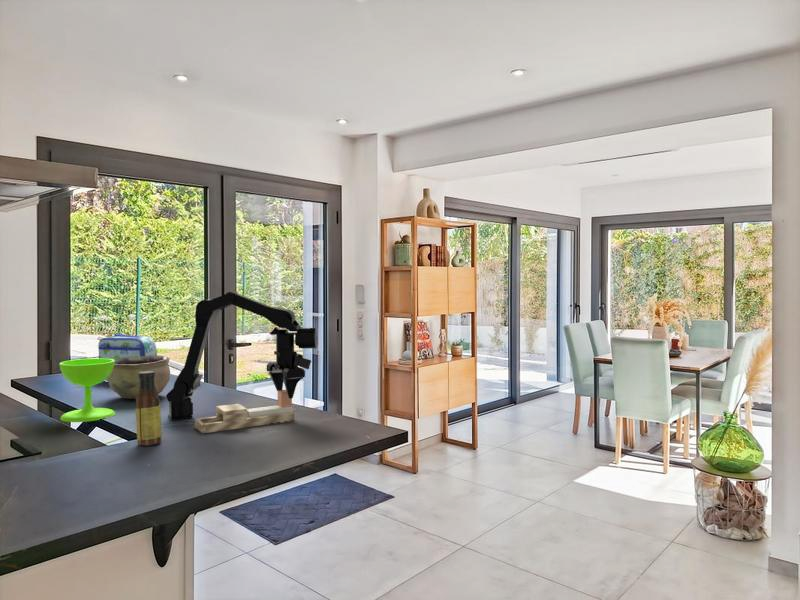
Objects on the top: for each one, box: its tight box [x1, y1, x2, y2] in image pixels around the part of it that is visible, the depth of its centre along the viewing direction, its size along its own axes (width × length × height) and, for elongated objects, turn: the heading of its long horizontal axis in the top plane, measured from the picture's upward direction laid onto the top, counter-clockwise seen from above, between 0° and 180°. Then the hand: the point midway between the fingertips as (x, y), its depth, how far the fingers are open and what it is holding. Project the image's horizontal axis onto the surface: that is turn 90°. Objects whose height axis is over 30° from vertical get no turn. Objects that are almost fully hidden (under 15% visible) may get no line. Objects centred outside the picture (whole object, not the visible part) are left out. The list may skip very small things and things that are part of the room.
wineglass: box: [58, 357, 116, 423], centre depth 188 cm, size 16×16×18 cm
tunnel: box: [194, 403, 295, 434], centre depth 180 cm, size 29×8×6 cm, turn 123°
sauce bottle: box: [135, 371, 163, 447], centre depth 157 cm, size 7×6×20 cm
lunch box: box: [97, 333, 158, 381], centre depth 249 cm, size 26×11×21 cm, turn 69°
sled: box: [247, 389, 293, 418], centre depth 184 cm, size 14×4×8 cm, turn 123°
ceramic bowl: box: [107, 354, 171, 400], centre depth 217 cm, size 22×22×15 cm
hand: (285, 395), depth 187 cm, fingers open, 9 cm apart
